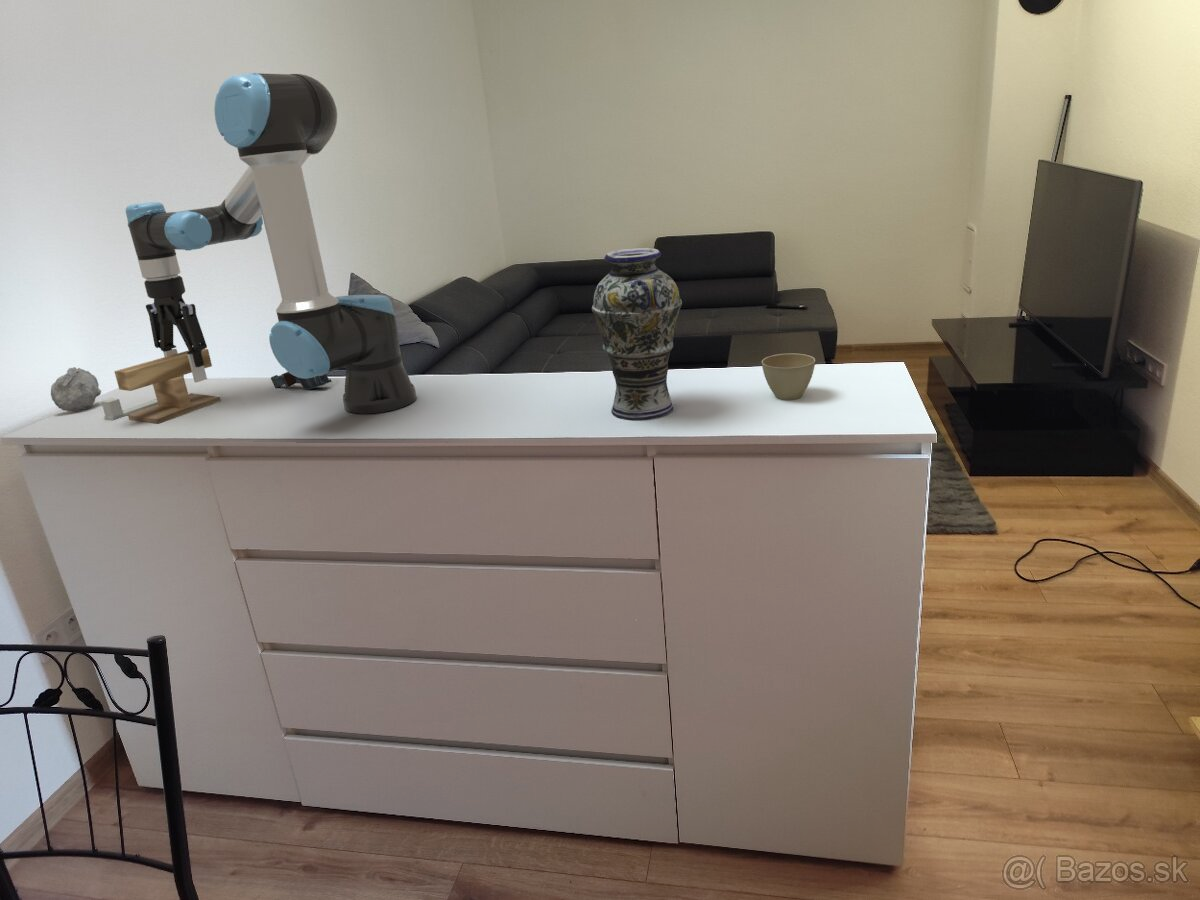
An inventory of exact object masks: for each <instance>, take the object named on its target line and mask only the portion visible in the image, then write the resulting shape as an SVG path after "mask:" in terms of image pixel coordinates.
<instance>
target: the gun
mask: <svg viewBox="0 0 1200 900" xmlns="http://www.w3.org/2000/svg"><path fill="white" fill-rule="evenodd" d="M270 379H271V382H272V384H273V386H274V388H275V389H277V388H278V389H279V387H282V386H285V387H286V388H289V387H292V386H294V385H295V384H299V385H301V386H302V387H303V389H304V390H305V391H308V390H312V389H315V388H318V387H322V386H326V384H328V383H332V379H331V378H329V376H328V373H327V374H324V375H322V376H315V377H312V378H307V379H305V378H299V377H296V376H294V375H292V374H290V373H289V372H287V371H286V372H284V373H281V375H277V374H275V375H273V376H271V377H270Z"/></svg>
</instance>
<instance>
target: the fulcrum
mask: <svg viewBox="0 0 1200 900" xmlns="http://www.w3.org/2000/svg"><path fill="white" fill-rule="evenodd" d="M152 387H153V389H154V390H153V391H154V394H155V399H157V402H158V405H155V406H152V407H150V408H147V409H144V410H141V411H138V412H135V413H132V414H129V415H127V418H128V420H131V421H136V422H137V421H138V422H145V423H152V424H161V423H164V422H166V421H169V420H172V419H176V418H178V417H180V416H183V415H186V414H189V413H191V412H195V411H197V410H200V409H203V408H205V407H208V406H211V405H214V404H216V403H218V402H222V399H221V396H217V395H209V394H202V393H189V392H188V388H187V384H186V380H185V376H184V377H175V378H172V379H169V380H165V381H162V382H159V383H156V384H152Z"/></svg>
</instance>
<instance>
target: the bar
mask: <svg viewBox="0 0 1200 900" xmlns="http://www.w3.org/2000/svg"><path fill="white" fill-rule="evenodd" d="M188 351H189V350H188V349H187V350H186V351H182V352H178V354H174V355H170V356H167V357H165V356H164V357H160V358H157V359H153V360H149V361H146V362H141V363H139V364H135V365H132V366H129V367H124V368H121V369H118V370H114V375H115V379H116V383H117V386H118V389H119V390H120V391H127V392H132V391H135V390H139V389H142V388H146V387H149V386H153V384H156V383H159V382H162V381H165V380H169V379H172V378H175V377H179V376H182V375H184V376H185V375H188V374H191V373H192V370H191V367H190V363H189V359H188V355H187V352H188ZM201 354H202V358H203V362H204V369H205V370H206V369H207V368H212V367H213V365H212V360H211V356H210V351H209V348H205V349H203V350H202V351H201Z"/></svg>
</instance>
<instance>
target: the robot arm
mask: <svg viewBox="0 0 1200 900" xmlns="http://www.w3.org/2000/svg"><path fill="white" fill-rule="evenodd" d="M213 110H214V118H215V119H214V120H215V124H216V127H217V129H218V132H219V135H221V136H222V137H223V140H224V141H225V142H226V143H227V145H230V146H231V147H234V148H236V149H237V153H238V156H239V159H240V161H242V162H243V163H245V164H246V165H247V166H248V167H247V168H246V170H245V171H244V172H243V174H242V175H241V176H240V178H239V180H238V181H237V182H236V183H235V185H234V186H233V187H232V188H231V190H230V192H229V193H228V194H227V196H226V197H225V199H223V201H222V202H221V204H219V205H217V206H208V207H203V208H202V207H201V208H194V209H188V210H181V211H172V212H171V211H168V212H167V211H166V207H165V206H164V204H163V203H162V202H159V201H154V202H144V203H143V202H142V203H134V204H129V205H127V206H126V208H125V214H126V218H127V219H126V220H127V227H128V230H129V233H130V237H131V239H132V243H133V248H134V250H135V255H136V257H137V263H138V266H139V269H140V272H141V277H142V278H143V279H145V280H144V283H143V284H144V288H145V292H146V294H147V297H148V298H150V299H153V302H152V303H148V304H146V305H145V309H146V311H147V314H148V316H149V323H150V328H151V334H152V338H153V339H152V340H153V345H154V347H155V348H156V349H158V348H159V349H160V351H161V352H163V356H164V357H167V356H170V355H174V354H178V353H179V352H178V349H177V345H176V344H174V326H176V328H177V331H178V332H179V334H180V335H181V336H180V337H181V338H182V340H183V342H184V344H185V346H186V348H187V351H188V350H189V351H188V352H187V355H188V359H189V363H190V367H191V370H192V374H191V375H192V377H193V381H194V383H199V382H202V381H205V380H208V376H207V373H206V368H205V369H204V362H203V358H202V354H201V351H202V350H203V349H208V348H207V347H208V345H207V342H206V339H205V336H204V334H203V330H202V327H201V325H200V321H199V319H198V316H197V309H196V305H195V303H190V304H188V303H186V302H185V300H184V298H183V294H185V293H186V288H185V284H184V279H183V277H182V276H181V275H180V273H181V270H180V266H179V262H178V258H177V251H176V250H178V251H179V250H183V251H188V252H189V251H192V250H193V251H194V250H199V249H203V248H204V247H207V246H211V245H216V244H222V243H227V242H228V243H229V242H233V241H239V240H243V241H245V240H248V239H249V238H252V237H253V238H254V237H256V236H258V235H260V233H261V232H262V230H263V228H262V225H264V228H265V231H266V236H267V237H266V238H267V241H268V245H269V249H270V253H271V258H272V263H273V266H274V270H275V271H274V272H275V275H276V280H277V283H278V288H279V291H280V297H281V301H280V303H279V305H278V306H277V308H276V309H275V313H276V317H277V320H278V321H277V322H276V323H275V324H274V325H273V326H272V327H271V329H270V333H269V344H270V345H269V346H270V349H271V351H272V353H273V356H274V357H275V359H276V361H277V362H278V363H279V365H280V366H281V367H282V368H284V369H285V370H286V372H289V373H290V374H292V375H294V376H296V377H299V378H305V379H307V378H312V377H315V376H322V375H324V374H327V375H328V373H330V372H332V371H335V370H338V369H340V368H344V367H345V368H344V369H345V378H344V379H345V380H344V393H343V395H342V402H343V408H344V410H345V411H346V412H349V413H352V414H359V415H361V414H362V415H363V414H364V415H365V414H366V415H368V414H379V413H383V412H390V411H394V410H398V409H402V408H404V407H407V406H409V405H411V404H412V403H414V402H415V401H416V399H417V393H416V387H415V385H414V384H413V383H412V382H411V379H410V377H409V375H408V372H407V371H406V368H405V367H404V365H403V359H402V353H401V352H402V351H401V348H400V339H399V335H398V334H399V333H398V327H397V322H396V321H397V320H396V313H395V311H394V307H393V302H392V301H391V299H390V298H389V296H387V295H384V294H383V295H382V294H353V295H352V294H351V295H339V296H333V295H332V294H331V293H330V292H329V288H328V284H327V279H326V274H325V270H324V266H323V265H324V264H323V261H322V256H321V252H320V247H319V242H318V239H317V234H316V229H315V224H314V223H315V222H314V220H313V219H314V218H313V215H312V209H311V204H310V201H309V197H308V196H309V195H308V191H307V187H306V181H305V176H304V174H303V173H304V172H303V167H302V166H303V165H304V163H306V161H307V160H308V158H309V157H310V156H315V155H318V154H319V153H320V152H321V151H322V150H323V149H324V148H325V147H326V146H327V145H328V143H329V141H330V140H331V138H332V137H333V135H334V133H335V130H336V128H337V123H338V122H337V121H338V111H337V106H336V103H335V99H334V97H333V95H332V94H331V92H330V91H329V90H328V89H327V87H326V86H325V85H324V84H323V83H322V82H321V81H319V80H317V79H315V78H313V77H312V76H309V75H307V74H301V73H290V74H289V73H258V72H257V73H256V72H252V73H250V72H249V73H244V74H236V75H232V76H230V77H228V78H226V79H225V80H224V81H223V82H222V83H221V85H220V86H219V89H218V92H217V93H216V94H215V100H214V108H213ZM179 377H184V378H185V375H182V376H179Z"/></svg>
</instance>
